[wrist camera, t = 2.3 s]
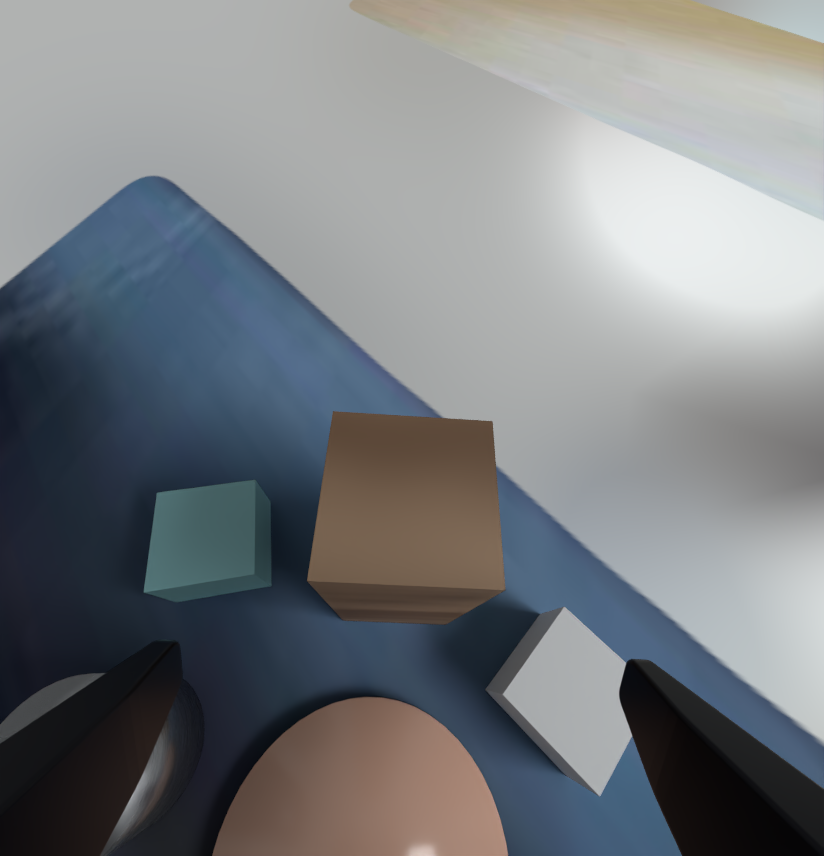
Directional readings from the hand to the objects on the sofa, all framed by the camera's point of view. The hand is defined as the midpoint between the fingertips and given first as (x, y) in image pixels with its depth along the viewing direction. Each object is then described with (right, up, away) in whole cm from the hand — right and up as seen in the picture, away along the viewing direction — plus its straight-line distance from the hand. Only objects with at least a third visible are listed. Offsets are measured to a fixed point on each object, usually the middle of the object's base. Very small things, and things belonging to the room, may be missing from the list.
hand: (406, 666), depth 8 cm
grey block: (+6, -6, +9) cm, 12 cm away
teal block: (-9, -1, +11) cm, 14 cm away
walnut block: (-1, -2, +11) cm, 11 cm away
